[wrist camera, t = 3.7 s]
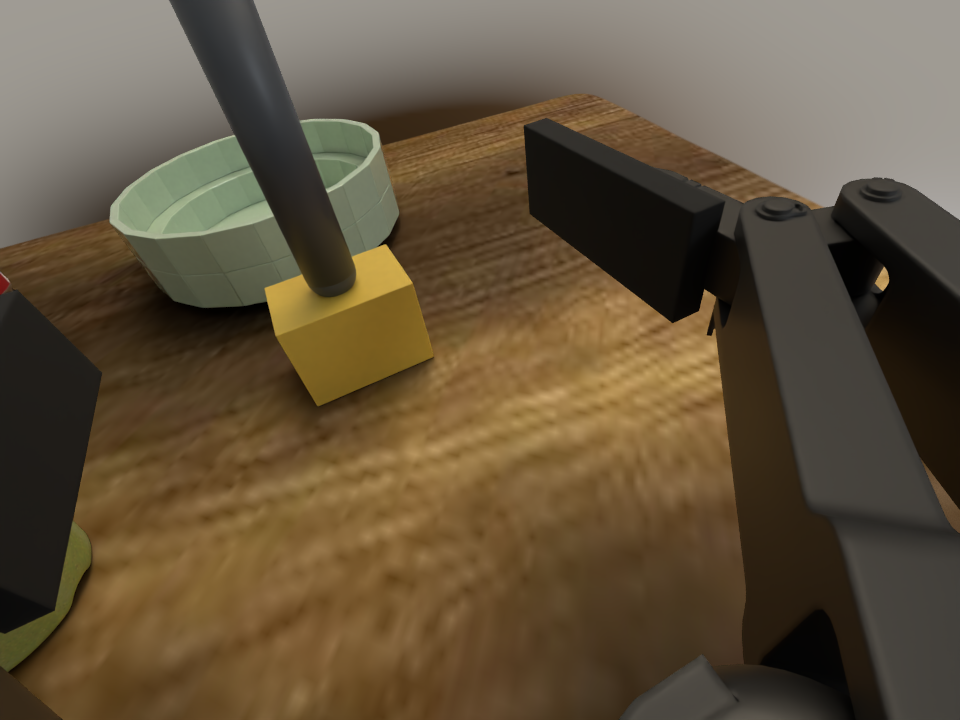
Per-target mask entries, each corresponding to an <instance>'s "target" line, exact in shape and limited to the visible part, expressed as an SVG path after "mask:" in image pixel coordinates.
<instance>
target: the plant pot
mask: <svg viewBox="0 0 960 720" xmlns="http://www.w3.org/2000/svg"><path fill="white" fill-rule="evenodd" d="M91 554H92V553H91V544H90V541H89V538H88V536H87V535H86V533H85V532H84V531H83V530H82V529H81V528H80V527H79V526H78V525H77V524H76V523H75V522H74V521H73V522H72V527H71V532H70V537H69V542H68V547H67V552H66V557H65V562H64V567H63V572H62V577H61V582H60V587H59V592H58V597H57V602H56V607H55V611H53V612H51V613H49V614H47V615H45V616H43V617H40V618H38V619H36V620H34V621H32V622H30V623H28V624H25V625H23V626H21V627H19V628H17V629H15V630H13V631H10V632H8V633H6V634H3V633H0V666H1V667H2V668H4V669H5V670H6V671H7V672H8V671H10V670H11V669H12V668H14V667H15V666H16V665H18V664H19V663H20V662H21V661H23V660H24V659H25V658H26V657H27V656H28V655H29V654H30V653H32V652H33V651H34V650H35V649H36V648H37V647H38V646H39V645H40V644H41V643H42V642H43V641H44V640H45V639H46V638H47V637H48V636H49V635H50V634H51V633H52V631H53V630H54V629H55V628H56V627H57V626H58V625H59V623H60V622H61V621H62V619H63V618H64V617H65V615H66V614H67V613H68V611H69V610H70V608H71V605H72V601H73V596H74V593H75V590H76V588H77V585H78V583H79V581H80V579H81V577H82V575H83V574H84V572H85V571H86V570H87V569H88V568H89V566H90V563H91Z"/></svg>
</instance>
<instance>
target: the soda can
mask: <svg viewBox="0 0 960 720" xmlns="http://www.w3.org/2000/svg"><path fill="white" fill-rule="evenodd" d="M11 291H13V289H12V287H11V282H10V281H9V280H8V279H7V278H6V277H5V276H4V275H3V274H2V273H1V272H0V295H2V294H5V293H8V292H11Z"/></svg>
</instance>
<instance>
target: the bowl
mask: <svg viewBox="0 0 960 720" xmlns="http://www.w3.org/2000/svg"><path fill="white" fill-rule="evenodd" d="M300 124H301V126H302V129H303V131H304V134H305V137H306V139H307V142H308V144H309V147H310V150H311V152H312V155H313V157H314V160H315V163H316V165H317V168H318V170H319V173H320V176H321V178H322V181H323V183H324V186H325V189H326V191H327V194H328V196H329V199H330V202H331V204H332V207H333V209H334V212H335V215H336V217H337V220H338V222H339V225H340V228H341V230H342V233H343V235H344V238H345V241H346V243H347V246H348V248H349V251H350V254H351V256H355V255H357V254H360V253H363V252H366V251H368V250H371V249H374V248H377V247H378V246H379V245H380V244H381V243H382V242H383V241H384V240H385V239H386V238H387V237H388V236H389V235H390V233H391V231H392V229H393V227H394V224H395V222H396V220H397V218H398V216H399V208H398V202H397V197H396V193H395V190H394V186H393V182H392V179H391V175H390V172H389V168H388V164H387V161H386V157H385V154H384V150H383V146H382V143H381V139H380V136H379V133H378V132H377V131H375V130H374V129H372V128H371V127H370V126H368V125H367V124H364V123H359V122H354V121H350V120H346V119H311V120H302V121H300ZM109 222H110V224H111V225H112V227H113V228H114V229H115V231H116V232H117V233H118V235H119V236H120V237H121V239H122V240H123V241H124V242H125V244H126V245H127V246H128V248H129V249H130V250H131V252H132V253H133V254H134V256H135V257H136V258H137V260H138V261H139V262H140V264H141V265H142V266H143V268H144V269H145V270H146V271H147V273H148V274H149V275H150V277H151V278H152V279H153V281H154V282H155V283H156V285H157V286H158V287H159V288H160V289H161V290H162V291H163V292H164V293H165V294H167V295H168V296H169V297H170V298H171V299H172V300H173V301H175V302H179V303H184V304H188V305H192V306H197V307H201V308H215V307H237V306H248V305H252V304H256V303H263V302H267V298H266V294H265V288H266V287H269V286H272V285H275V284H277V283H280V282H283V281H286V280H288V279H291V278H294V277H297V276H299V275H302V273H301V271H300V269H299V267H298V265H297V263H296V261H295V259H294V257H293V254H292V252H291V250H290V248H289V246H288V244H287V242H286V240H285V238H284V236H283V234H282V232H281V230H280V228H279V226H278V223H277V221H276V219H275V217H274V215H273V213H272V211H271V209H270V207H269V205H268V203H267V201H266V199H265V197H264V195H263V193H262V190H261V188H260V186H259V184H258V182H257V180H256V178H255V176H254V174H253V172H252V170H251V168H250V166H249V164H248V162H247V160H246V157H245V155H244V153H243V151H242V149H241V147H240V145H239V143H238V141H237V139H236V137H235V135H232V136H229V137H226V138H222V139H219V140H216V141H213V142H211V143H208V144H206V145H203V146H201V147H198V148H196V149H193V150H191V151H188V152H186V153H183V154H181V155H179V156H177V157H175V158H173V159H171V160H170V161H168V162H166V163H164V164H162V165H160V166H158V167H156V168H154V169H152V170H151V171H149V172H148V173H146V174H145V175H143V176H142V177H141V178H139V179H138V180H136V181H135V182H134V183H132V184H131V185H130V186H128V187H127V188H126V189H125V190H124V191H123V192H122V193H121V195H120V196H119V197H118V198H117V199H116V201H115V202H114V203H113V204H112V205H111V210H110V221H109Z"/></svg>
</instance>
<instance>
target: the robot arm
mask: <svg viewBox="0 0 960 720" xmlns="http://www.w3.org/2000/svg"><path fill="white" fill-rule="evenodd" d="M524 136H525V151H526V165H527V180H528V194H529V209H530V214H531V215H532V216H533V217H535V218H536V219H537V220H539V221H540V222H541V223H543V224H544V225H545V226H546V227H548V228H549V229H550V230H552V231H553V232H554V233H556V234H557V235H558V236H560V237H561V238H562V239H563V240H565V241H566V242H567V243H569V244H570V245H571V246H573V247H574V248H575V249H577V250H578V251H579V252H580V253H582V254H583V255H584V256H586V257H587V258H588V259H590V260H591V261H592V262H594V263H595V264H596V265H597V266H599V267H600V268H601V269H603V270H604V271H605V272H607V273H608V274H609V275H610V276H612V277H613V278H614V279H616V280H617V281H618V282H620V283H621V284H622V285H624V286H625V287H626V288H627V289H629V290H630V291H631V292H633V293H634V294H635V295H637V296H638V297H639V298H641V299H642V300H643V301H644V302H646V303H647V304H648V305H650V306H651V307H652V308H654V309H655V310H656V311H658V312H659V313H660V314H661V315H663V316H664V317H665V318H667V319H668V320H669V321H671V322H672V323H674V322H676V321H678V320H681V319H683V318H685V317H687V316H689V315H691V314H693V313H696V312H698V311H699V309H700V304H701V300H702V296H703V292H704V289H705V290H707V291H708V292H710V293H711V294H713V295H714V296H716V301H715V305H714V309H713V312H712V316H711V320H710V323H709V327H708V331H707V335H709V336H712V333H713V329H715V330H716V338H717V347H718V355H719V363H720V372H721V380H722V388H723V397H724V405H725V414H726V422H727V430H728V439H729V447H730V455H731V464H732V472H733V481H734V489H735V497H736V506H737V514H738V522H739V531H740V539H741V548H742V556H743V564H744V573H745V581H746V603H745V609H744V615H743V623H742V644H743V657H744V664H734V665H721V666H714V667H712V666H711V665H710V663H709V662H708V661H707V659H706V658H705V657H704V655H703V654H702V655H700V656H699V657H697V658H696V659H694V660H693V661H691V662H690V663H688V664H687V665H685V666H684V667H682V668H681V669H679V670H678V671H677V672H675V673H674V674H672V675H671V676H669V677H668V678H666V679H665V680H663V681H662V682H660V683H659V684H657V685H656V686H654V687H653V688H651V689H650V690H648V691H647V692H645V693H644V694H642V695H641V696H639V697H638V698H636V699H635V700H633V702H632V703H631V704H630V706H629V707H628V708H627V710H626V711H625V712H624V713H623V715H622V716H621V717H620V719H619V720H960V533H958V532H957V531H956V530H955V529H953V528H952V527H951V525H950V523H949V522H948V520H947V518H946V517H945V514H944V512H943V510H942V508H941V505H940V503H939V501H938V498H937V496H936V494H935V491H934V489H933V487H932V485H931V482H930V480H929V478H928V475H927V473H926V471H925V468H924V466H923V464H922V462H921V459H922V461H923V462H924V463H925V464H926V466H927V467H928V468H929V470H930V471H931V472H932V474H933V475H934V476H935V478H936V479H937V480H938V482H939V483H940V484H941V486H942V487H943V488H944V490H945V491H946V492H947V494H948V495H949V496H950V498H951V499H952V500H953V501H954V503H955V504H956V505H957V507H958V508H959V509H960V220H959V219H957V218H956V217H954V216H953V215H951V214H950V213H949V212H947V211H946V210H944V209H943V208H942V207H940V206H938V205H937V204H936V203H934V202H933V201H932V200H930V199H929V198H927V197H926V196H925V195H923V194H922V193H920V192H919V191H917V190H916V189H914V188H912V187H910V186H908V185H906V184H903V183H900V182H896V181H894V180H893V179H888V178H884V179H882V178H872V179H860V180H855V181H851V182H849V183H847V184H845V185H843V187H842V189H841V191H840V194H839V196H838V199H837V201H836V204H835V206H832V207H826V208H820V209H814V210H811V209H810V208H809V207H808V206H807V205H805V204H803V203H801V202H799V201H796V200H792V199H788V198H784V197H760V198H755V199H752V200H749V201H747V202H746V203H742V202H740V201H737V200H735V199H733V198H731V197H729V196H726V195H724V194H722V193H720V192H718V191H715V190H713V189H711V188H709V187H707V186H701V184H700V183H698V182H696V181H693V180H688V178H687V177H684V176H682V175H680V174H678V173H676V172H673V171H670V170H665V169H660V168H654V167H651V166H649V165H647V164H645V163H643V162H640V161H638V160H636V159H634V158H632V157H630V156H628V155H625V154H623V153H621V152H619V151H617V150H615V149H612V148H610V147H608V146H606V145H604V144H602V143H600V142H597V141H595V140H593V139H591V138H589V137H587V136H584V135H582V134H580V133H578V132H576V131H574V130H571V129H569V128H567V127H565V126H563V125H561V124H559V123H556V122H554V121H552V120H550V119H548V118H545V119H542V120H539V121H536V122H533V123H530V124H527V125H524ZM883 267H885V268H886V270H887V271H888V275H889V283H888V285H887V287H886V288H885V289H884V291H882V290H880V289H879V288H878V287H877V285H876V284H875V282H876V280H877V278H878V276H879V274H880V272H881V271H882V269H883ZM101 376H102V372H101V371H100V370H99V369H98V368H97V367H96V366H95V365H94V364H93V363H92V362H91V361H89V360H88V359H87V358H86V357H85V356H84V355H83V354H82V353H81V352H80V351H79V350H78V349H77V348H76V347H75V346H74V345H73V344H72V343H71V342H70V341H69V340H68V339H67V338H66V337H65V336H64V335H63V334H62V333H61V332H60V331H59V330H58V329H57V328H56V327H55V326H54V325H53V324H52V323H51V322H50V321H49V320H48V319H47V318H46V317H45V316H44V315H42V314H41V313H40V312H39V311H38V310H37V309H36V308H35V307H34V306H33V305H32V304H31V303H30V302H29V301H28V300H27V299H26V298H25V297H24V296H23V295H22V294H21V293H20V292H19V291H18V290H14V291H11V292H8V293H5V294H2V295H0V633H3V634H6V633H8V632H10V631H13V630H15V629H17V628H19V627H21V626H23V625H25V624H28V623H30V622H32V621H34V620H36V619H38V618H40V617H43V616H45V615H47V614H49V613H51V612H53V611H55V607H56V602H57V597H58V592H59V587H60V582H61V577H62V572H63V567H64V562H65V557H66V552H67V547H68V542H69V537H70V532H71V527H72V522H73V517H74V512H75V507H76V502H77V497H78V492H79V487H80V482H81V477H82V472H83V466H84V461H85V456H86V451H87V446H88V441H89V436H90V431H91V426H92V421H93V416H94V411H95V406H96V401H97V396H98V391H99V386H100V381H101ZM920 458H921V459H920ZM0 720H62V719H61V718H60V717H59V716H58V715H57V714H56V713H54V712H53V711H52V710H51V709H50V708H49V707H47V706H46V705H45V704H44V703H43V702H42V701H41V700H39V699H38V698H37V697H36V696H35V695H34V694H32V693H31V692H30V691H29V690H28V689H27V688H25V687H24V686H23V685H22V684H21V683H20V682H19V681H17V680H16V679H15V678H14V677H13V676H12V675H10V674H9V673H8V672H7V671H6V670H5V669H4V668H2V667H1V666H0Z"/></svg>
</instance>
